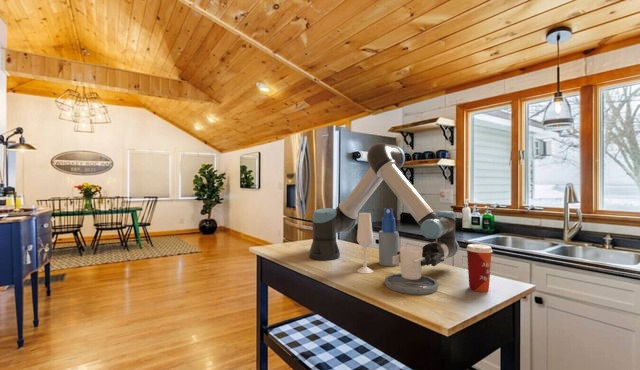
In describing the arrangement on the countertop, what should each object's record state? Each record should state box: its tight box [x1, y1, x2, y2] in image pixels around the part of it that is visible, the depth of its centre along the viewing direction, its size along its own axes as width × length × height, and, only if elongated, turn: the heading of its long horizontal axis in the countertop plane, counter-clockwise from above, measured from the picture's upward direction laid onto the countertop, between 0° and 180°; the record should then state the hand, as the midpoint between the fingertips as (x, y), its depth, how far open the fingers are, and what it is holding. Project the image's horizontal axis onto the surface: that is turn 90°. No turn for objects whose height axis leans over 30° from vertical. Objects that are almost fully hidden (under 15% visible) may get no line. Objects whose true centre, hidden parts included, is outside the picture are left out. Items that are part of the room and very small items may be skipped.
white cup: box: [399, 246, 423, 280], centre depth 113 cm, size 8×8×10 cm
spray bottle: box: [378, 207, 400, 267], centre depth 143 cm, size 9×9×25 cm
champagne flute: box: [356, 212, 374, 274], centre depth 132 cm, size 7×7×24 cm
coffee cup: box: [466, 243, 494, 293], centre depth 110 cm, size 8×8×15 cm
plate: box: [384, 272, 439, 296], centre depth 113 cm, size 18×18×2 cm
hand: (403, 262), depth 110 cm, fingers closed on white cup, 8 cm apart
